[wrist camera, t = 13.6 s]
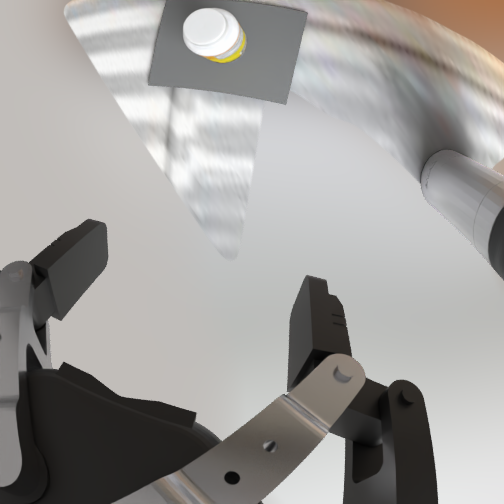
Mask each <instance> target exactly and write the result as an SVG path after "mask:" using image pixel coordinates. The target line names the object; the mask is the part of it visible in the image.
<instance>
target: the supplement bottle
mask: <svg viewBox="0 0 504 504" xmlns="http://www.w3.org/2000/svg"><path fill="white" fill-rule="evenodd" d="M183 39H184V42H185V44H186V46H187V47H188V48H189V49H190V50H191V51H192V52H194V53H196V54H198V55H200V56H202V57H205V58H207V59H209V60H211V61H213V62H216V63H230V62H233V61H235V60H237V59H238V58H239V57H241V56H242V55H243V53H244V52H245V50H246V47H247V37H246V35H245V33H244V31H243V29H242V28H241V26H240V24H239V23H238V21H237V20H236V18H235V17H234V16H233V15H232V14H231V13H230V12H228V11H226V10H224V9H220V8H203V9H199V10H196V11H194V12H193V13H191V14H190V15H189V16H188V17H187V19H186V20H185V22H184V25H183Z"/></svg>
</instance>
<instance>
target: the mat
mask: <svg viewBox="0 0 504 504" xmlns="http://www.w3.org/2000/svg"><path fill="white" fill-rule="evenodd" d="M203 8H220V9H224V10H226V11H228V12H230V13H231V14H232V15H233V16H234V17H235V18H236V20H237V21H238V23H239V24H240V26H241V28H242V29H243V31H244V33H245V35H246V37H247V47H246V50H245V52H244V53H243V55H242V56H241V57H239V58H238V59H237V60H235V61H233V62H230V63H216V62H213V61H211V60H209V59H207V58H205V57H202V56H200V55H198V54H196V53H194V52H192V51H191V50H190V49H189V48H188V47H187V46H186V44H185V42H184V39H183V25H184V22H185V20H186V19H187V17H188V16H189V15H190V14H191V13H193V12H194V11H196V10H199V9H203ZM307 14H308V13H306V12H302V11H298V10H293V9H288V8H283V7H278V6H272V5H265V4H259V3H251V2H242V1H232V0H167V1H166V5H165V8H164V12H163V16H162V20H161V24H160V28H159V33H158V37H157V41H156V46H155V51H154V56H153V61H152V66H151V72H150V78H149V84H148V85H149V86H166V87H179V88H189V89H198V90H207V91H214V92H221V93H228V94H234V95H240V96H246V97H251V98H256V99H261V100H266V101H271V102H276V103H280V104H285V105H286V103H287V98H288V94H289V90H290V86H291V82H292V77H293V73H294V69H295V65H296V60H297V56H298V52H299V48H300V43H301V39H302V35H303V31H304V27H305V22H306V18H307Z"/></svg>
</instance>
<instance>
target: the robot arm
mask: <svg viewBox="0 0 504 504" xmlns="http://www.w3.org/2000/svg"><path fill="white" fill-rule="evenodd" d="M421 189H422V192H423V195H424V197H425V199H426V200H427V202H428V203H429V204H430V205H431V206H432V207H433V208H434V209H436V210H437V211H438V212H439V213H440V214H441V215H442V216H443V217H444V218H445V219H446V220H447V221H448V222H449V223H450V224H452V226H453V227H455V228H456V229H457V230H458V231H459V232H460V233H461V234H462V235H463V236H464V237H465V238H466V239H467V240H468V241H469V243H471V245H472V246H473V247H474V248H475V249H476V250H477V251H478V252H479V253H480V254H481V255H482V256H483V257H484V258H485V259H486V261H487V262H488V263H489V264H490V265H491V266H492V267H493V269H494V270H495V271H496V272H497V273H498V274H499V276H500V277H501V278H502V279H503V280H504V176H503V175H502V174H500V173H498V172H496V171H494V170H492V169H490V168H489V167H487V166H485V165H483V164H481V163H479V162H477V161H474V160H472V159H470V158H468V157H466V156H464V155H462V154H460V153H457V152H455V151H452V150H442V151H438V152H437V153H435V154H433V155H432V156H431V157H430V158H429V159H428V161H427V162H426V164H425V166H424V168H423V171H422V175H421ZM107 261H108V244H107V227H106V224H105V223H103V222H99V221H95V220H92V219H87V220H86V221H84V222H83V223H82V224H81V225H79V226H78V227H77V228H74V229H72V230H69V231H67V232H65V233H64V234H63V235H61V236H60V237H59V238H58V239H57V240H55V241H54V242H52V243H51V245H49V246H48V247H47V248H45V249H44V250H43V251H42V252H40V253H39V254H38V255H37V256H36V257H35V258H34V259H32V260H31V261H30V262H29V263H28V262H26V261H15V262H12V263H10V264H8V265H7V266H5V267H4V268H3V270H2V271H0V504H263V503H262V501H261V500H262V499H264V498H265V497H266V496H267V495H268V494H269V493H270V492H272V491H273V490H274V489H275V488H276V487H277V486H278V485H279V484H280V483H281V482H282V481H283V480H284V479H285V478H286V477H287V476H289V474H291V473H292V472H293V470H295V468H297V466H298V465H299V464H300V463H301V462H302V461H303V460H304V459H305V458H306V457H307V456H308V455H309V454H310V453H311V452H312V451H313V450H314V448H315V447H316V446H317V445H318V444H319V443H320V442H321V440H322V439H323V438H324V437H325V436H326V435H327V433H328V432H330V433H333V434H335V435H338V436H340V437H343V438H345V478H344V495H343V496H344V497H343V504H438V492H437V480H436V470H435V462H434V455H433V447H432V440H431V435H430V428H429V422H428V417H427V412H426V407H425V402H424V398H423V395H422V393H421V391H420V390H419V389H418V387H417V386H415V385H414V384H413V383H411V382H409V381H407V380H396V381H394V382H393V383H392V384H391V385H390V386H389V387H387V386H384V385H382V384H379V383H377V382H374V381H372V380H370V379H368V378H366V376H365V372H364V369H363V367H362V366H361V365H360V363H359V362H358V361H356V360H355V359H354V358H352V353H351V347H350V341H349V336H348V330H347V327H346V319H345V314H344V310H343V305H342V304H341V302H340V301H339V299H338V298H337V297H336V296H334V295H330V294H329V293H328V286H327V281H326V280H325V279H321V278H317V277H313V276H309V275H307V276H306V277H305V279H304V281H303V283H302V286H301V288H300V291H299V293H298V296H297V298H296V301H295V304H294V305H293V309H292V312H291V317H290V330H289V359H288V383H287V392H290V393H288V394H287V395H285V394H283V395H281V396H280V397H278V398H277V399H276V400H274V401H273V402H272V403H271V404H270V405H268V406H267V407H266V408H265V409H264V410H262V411H261V412H260V413H259V414H257V415H256V416H255V417H254V418H252V419H251V420H250V421H248V422H247V423H246V424H245V425H244V426H242V427H241V428H239V429H238V430H237V431H235V432H234V433H233V434H232V435H230V436H229V437H227V438H226V439H225V440H223V441H221V440H220V439H219V438H218V437H217V436H216V435H215V434H213V433H212V432H211V431H210V430H208V429H207V428H205V427H204V426H202V425H200V424H198V423H197V422H195V419H196V412H192V411H189V410H185V409H182V408H179V407H175V406H172V405H169V404H166V403H163V402H159V401H148V400H141V399H133V398H126V397H121V396H119V395H117V394H115V393H114V392H113V391H111V390H110V389H109V388H108V387H106V386H105V385H104V384H102V383H101V382H100V381H98V380H97V379H96V378H94V377H93V376H92V375H90V374H88V373H86V372H84V371H81V370H80V369H77V368H75V367H73V366H71V365H69V364H67V363H65V362H63V364H62V365H61V367H60V368H59V370H57V369H53V368H52V364H51V353H50V334H49V323H48V319H49V318H50V316H52V317H54V318H56V319H58V320H60V321H61V320H62V319H63V318H64V317H65V315H66V314H67V313H68V312H69V310H70V309H71V308H72V307H73V306H74V304H75V303H76V302H77V301H78V299H79V298H80V297H81V296H82V294H83V293H84V292H85V291H86V290H87V289H88V288H89V286H90V285H91V284H92V283H93V282H94V281H95V279H96V278H97V277H98V276H99V275H100V274H101V273H102V271H103V270H104V269H105V267H106V265H107Z"/></svg>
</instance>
